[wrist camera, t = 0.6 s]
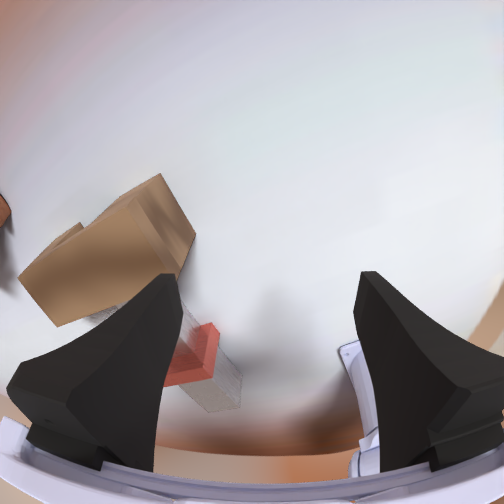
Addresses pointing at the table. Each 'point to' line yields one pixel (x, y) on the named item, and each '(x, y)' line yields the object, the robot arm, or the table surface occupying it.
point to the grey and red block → (203, 366)
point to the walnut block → (111, 254)
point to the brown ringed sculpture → (3, 211)
